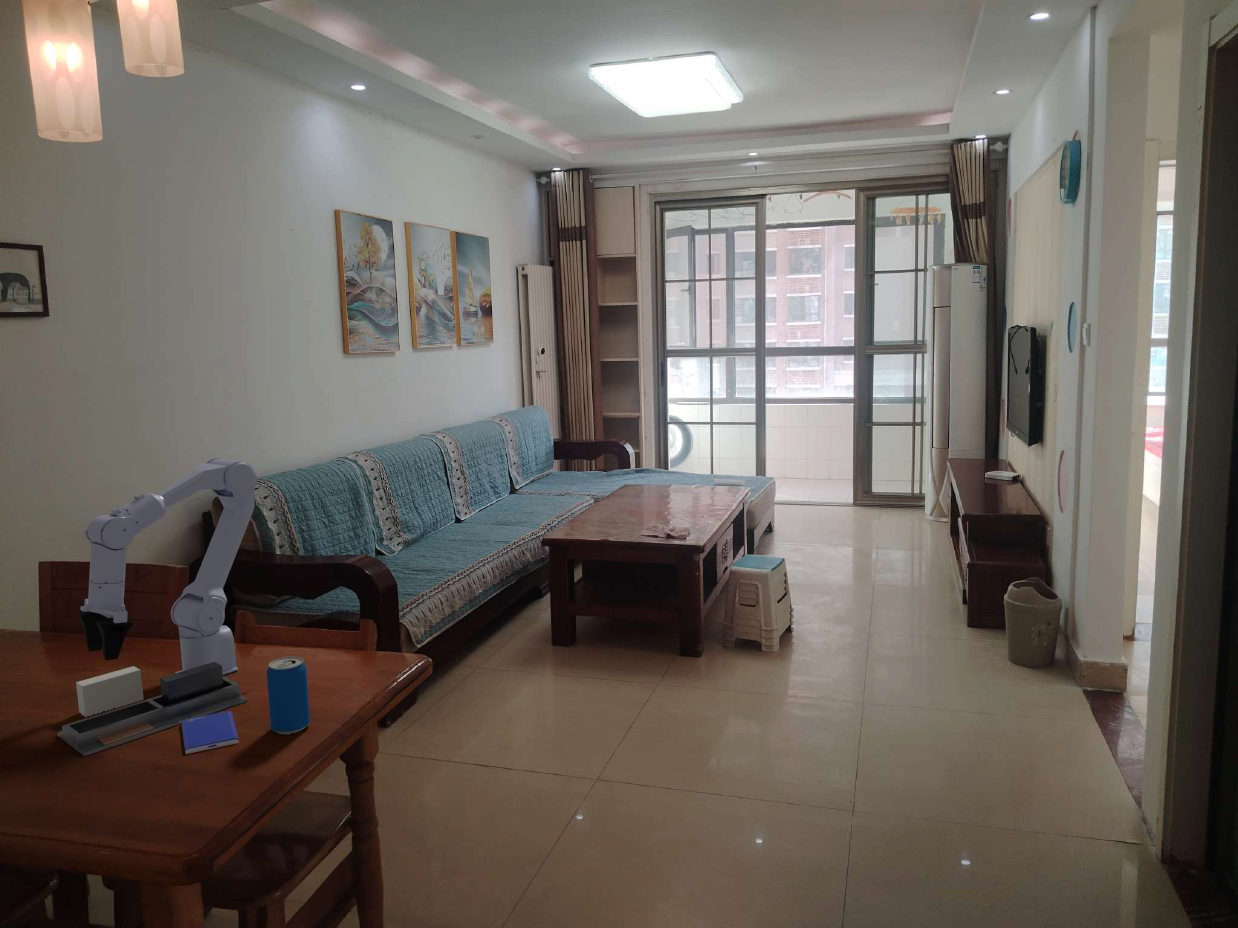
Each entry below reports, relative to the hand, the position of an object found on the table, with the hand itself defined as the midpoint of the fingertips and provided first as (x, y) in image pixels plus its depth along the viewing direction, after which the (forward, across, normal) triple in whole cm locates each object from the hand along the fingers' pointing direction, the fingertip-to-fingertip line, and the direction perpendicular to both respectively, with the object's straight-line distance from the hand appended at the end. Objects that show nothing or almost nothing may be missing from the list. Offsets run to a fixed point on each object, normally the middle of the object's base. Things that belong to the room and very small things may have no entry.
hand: (102, 654), depth 166 cm
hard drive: (+10, +26, +8) cm, 29 cm away
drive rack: (+10, +12, +5) cm, 16 cm away
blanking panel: (+10, 0, +2) cm, 10 cm away
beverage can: (+8, +35, +18) cm, 40 cm away
